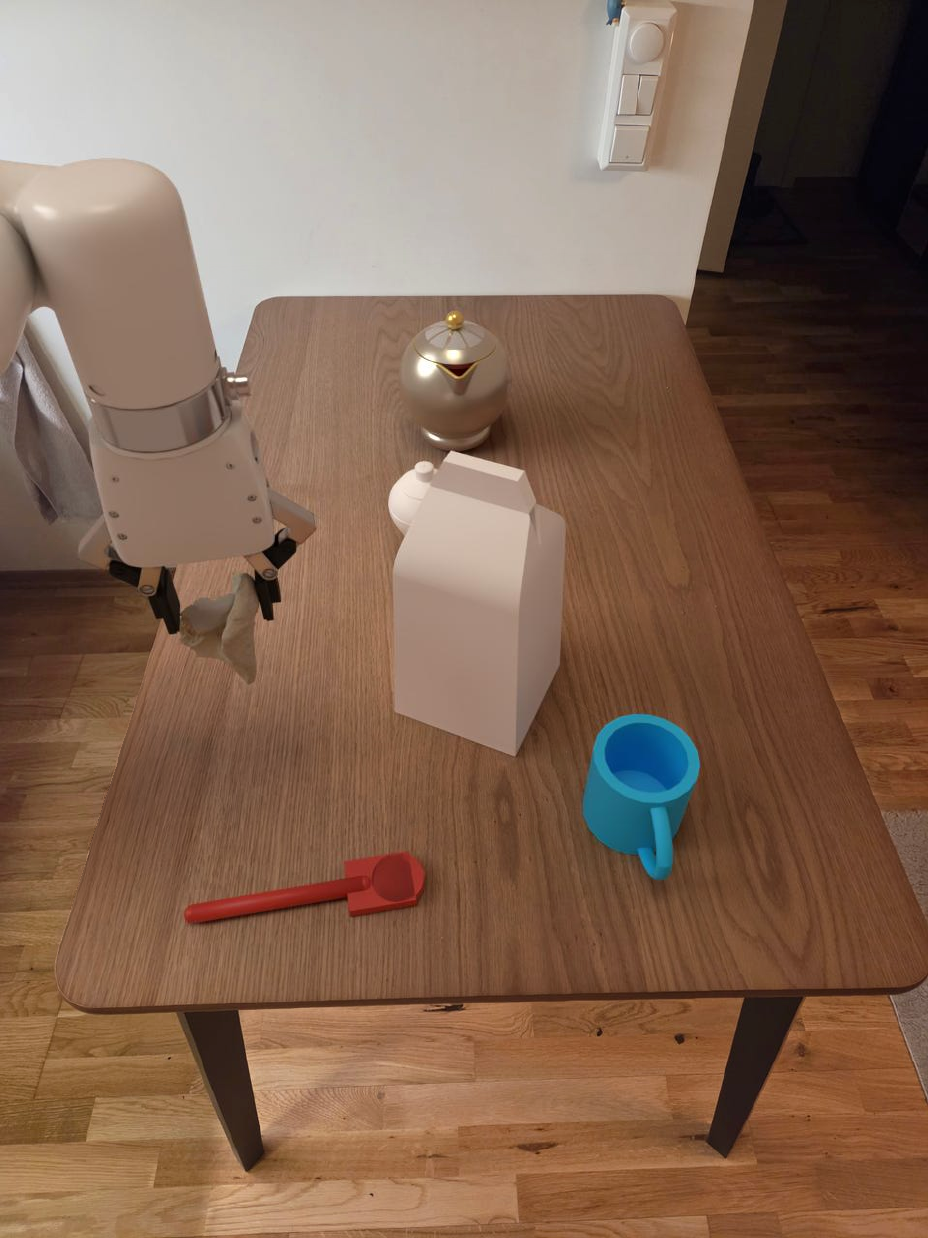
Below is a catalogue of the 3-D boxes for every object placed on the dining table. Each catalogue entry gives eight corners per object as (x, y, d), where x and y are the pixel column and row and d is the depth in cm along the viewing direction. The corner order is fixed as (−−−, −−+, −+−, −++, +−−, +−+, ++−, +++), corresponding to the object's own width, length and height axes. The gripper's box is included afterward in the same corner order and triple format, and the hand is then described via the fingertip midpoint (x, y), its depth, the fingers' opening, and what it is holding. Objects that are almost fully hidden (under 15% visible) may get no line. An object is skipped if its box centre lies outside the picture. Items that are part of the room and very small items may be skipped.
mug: (573, 773, 75) (583, 718, 69) (665, 764, 75) (682, 709, 69) (604, 905, 67) (618, 856, 61) (706, 894, 67) (730, 844, 61)
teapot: (515, 467, 104) (522, 343, 92) (403, 472, 103) (395, 348, 91) (500, 385, 116) (504, 266, 104) (399, 389, 115) (392, 270, 103)
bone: (175, 593, 67) (218, 513, 61) (253, 618, 70) (303, 543, 64) (156, 684, 62) (201, 606, 56) (242, 706, 65) (294, 635, 58)
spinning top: (391, 533, 96) (384, 444, 87) (460, 529, 96) (460, 441, 88) (393, 581, 91) (385, 492, 82) (465, 577, 91) (465, 488, 82)
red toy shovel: (185, 945, 65) (180, 938, 64) (187, 893, 67) (183, 885, 66) (428, 903, 67) (427, 895, 66) (420, 854, 70) (420, 846, 69)
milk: (394, 711, 79) (372, 490, 60) (447, 627, 86) (442, 405, 67) (515, 757, 76) (532, 537, 57) (559, 665, 83) (588, 442, 64)
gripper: (305, 352, 53) (335, 563, 67) (12, 381, 51) (103, 593, 64) (315, 421, 48) (345, 634, 62) (-9, 457, 46) (95, 670, 59)
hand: (221, 611), depth 63 cm, fingers closed on bone, 6 cm apart
